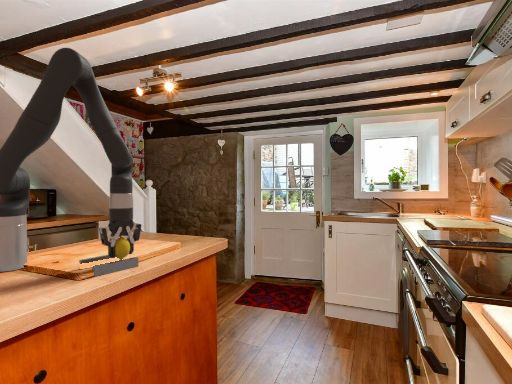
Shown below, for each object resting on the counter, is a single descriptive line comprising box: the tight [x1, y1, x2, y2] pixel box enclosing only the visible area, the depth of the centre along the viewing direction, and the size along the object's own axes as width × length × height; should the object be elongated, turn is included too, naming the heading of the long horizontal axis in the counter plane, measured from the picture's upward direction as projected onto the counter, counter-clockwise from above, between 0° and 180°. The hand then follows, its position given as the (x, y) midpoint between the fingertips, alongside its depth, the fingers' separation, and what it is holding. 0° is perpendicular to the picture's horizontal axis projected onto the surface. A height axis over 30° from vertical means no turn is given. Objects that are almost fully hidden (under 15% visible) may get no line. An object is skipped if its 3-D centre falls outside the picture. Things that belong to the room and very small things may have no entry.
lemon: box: [114, 236, 130, 260], centre depth 100 cm, size 6×6×8 cm
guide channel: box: [78, 254, 139, 277], centre depth 96 cm, size 11×14×3 cm
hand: (121, 255), depth 100 cm, fingers closed on lemon, 5 cm apart
